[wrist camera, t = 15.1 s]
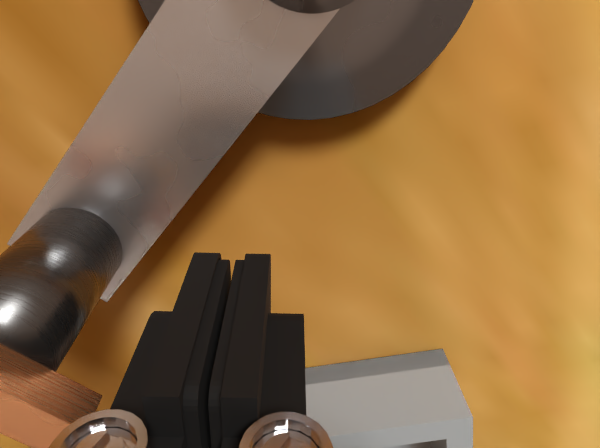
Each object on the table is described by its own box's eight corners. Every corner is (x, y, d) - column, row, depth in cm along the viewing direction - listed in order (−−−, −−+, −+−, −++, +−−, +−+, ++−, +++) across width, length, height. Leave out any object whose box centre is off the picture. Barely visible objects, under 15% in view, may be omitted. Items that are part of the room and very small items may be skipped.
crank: (278, -222, 9) (268, -537, 4) (425, -61, 10) (579, -120, 5) (3, 215, 12) (-199, 374, 7) (135, 294, 14) (43, 479, 8)
